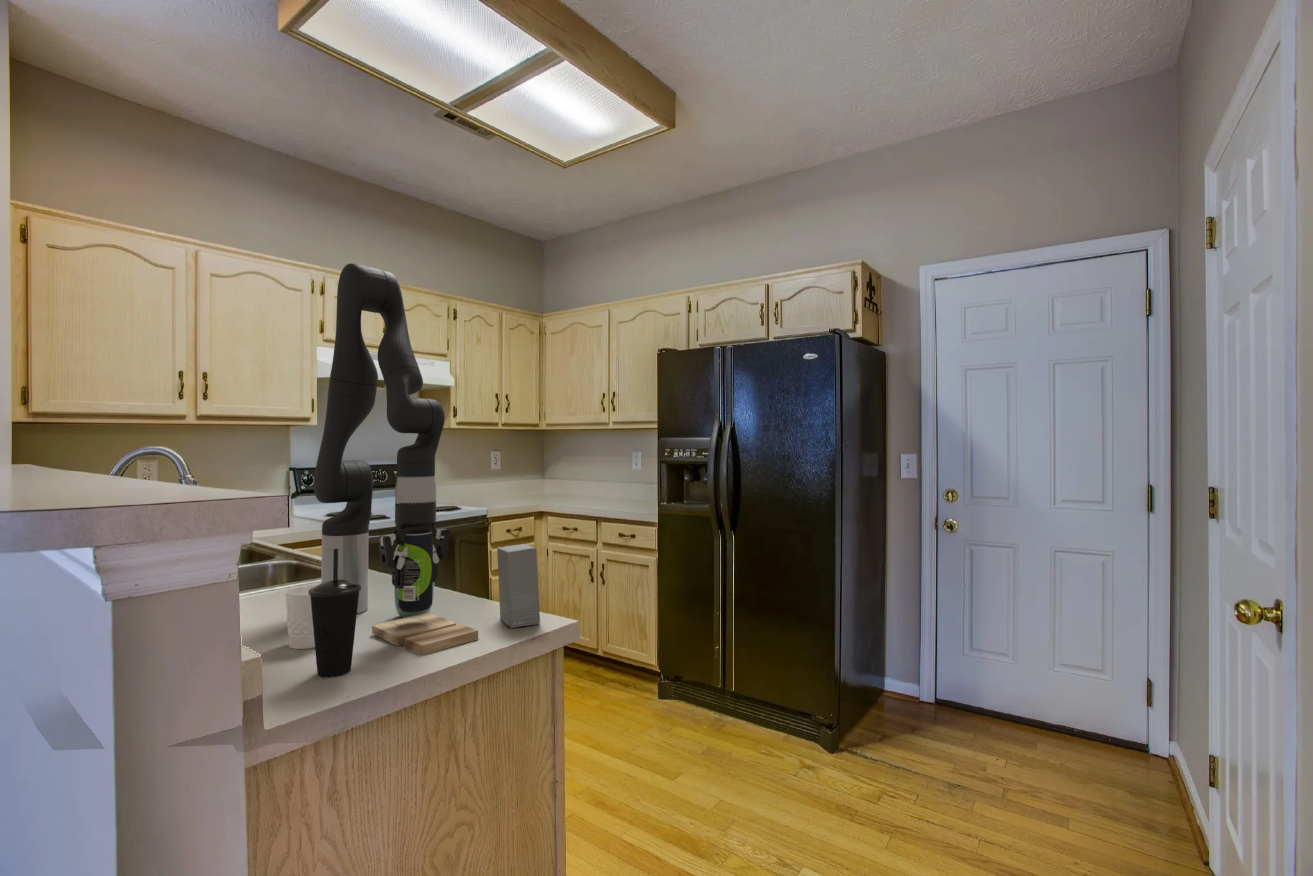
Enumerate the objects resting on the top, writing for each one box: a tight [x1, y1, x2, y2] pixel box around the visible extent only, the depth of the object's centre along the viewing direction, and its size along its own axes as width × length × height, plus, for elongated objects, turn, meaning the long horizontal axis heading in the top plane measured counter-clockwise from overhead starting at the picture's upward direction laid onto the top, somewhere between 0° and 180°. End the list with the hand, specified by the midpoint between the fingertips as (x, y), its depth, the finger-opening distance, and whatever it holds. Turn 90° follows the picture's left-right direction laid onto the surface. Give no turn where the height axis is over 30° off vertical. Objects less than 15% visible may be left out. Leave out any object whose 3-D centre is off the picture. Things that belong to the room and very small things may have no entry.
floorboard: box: [401, 623, 479, 656], centre depth 115 cm, size 7×12×2 cm, turn 140°
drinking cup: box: [308, 549, 361, 679], centre depth 100 cm, size 8×8×20 cm
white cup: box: [285, 584, 318, 650], centre depth 114 cm, size 8×8×10 cm
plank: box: [371, 611, 457, 647], centre depth 120 cm, size 10×12×2 cm
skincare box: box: [496, 543, 541, 629], centre depth 129 cm, size 8×7×16 cm
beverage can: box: [398, 531, 434, 612], centre depth 120 cm, size 6×6×15 cm
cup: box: [393, 582, 435, 618], centre depth 132 cm, size 8×8×10 cm
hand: (415, 584), depth 120 cm, fingers closed on beverage can, 6 cm apart
